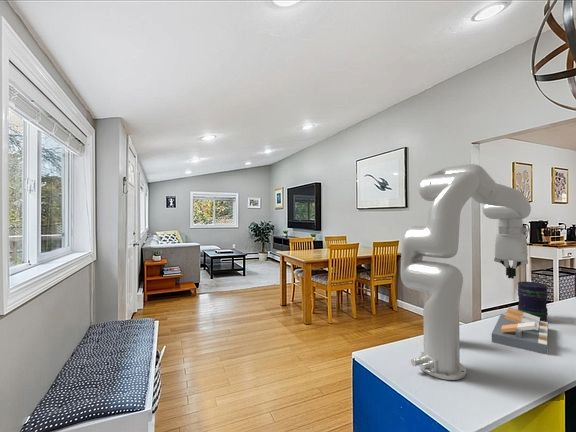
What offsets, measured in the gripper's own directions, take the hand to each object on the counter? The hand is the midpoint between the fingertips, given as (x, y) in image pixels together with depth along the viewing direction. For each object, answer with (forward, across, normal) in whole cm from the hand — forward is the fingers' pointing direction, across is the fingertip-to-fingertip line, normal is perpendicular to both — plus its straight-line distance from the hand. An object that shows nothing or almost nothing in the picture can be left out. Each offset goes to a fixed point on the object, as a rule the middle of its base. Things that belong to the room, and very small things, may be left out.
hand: (511, 277), depth 117 cm
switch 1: (+15, -3, -2) cm, 16 cm away
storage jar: (+21, -6, -18) cm, 28 cm away
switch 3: (+15, -3, +14) cm, 21 cm away
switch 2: (+15, -3, +6) cm, 17 cm away
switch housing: (+20, -3, +6) cm, 21 cm away
